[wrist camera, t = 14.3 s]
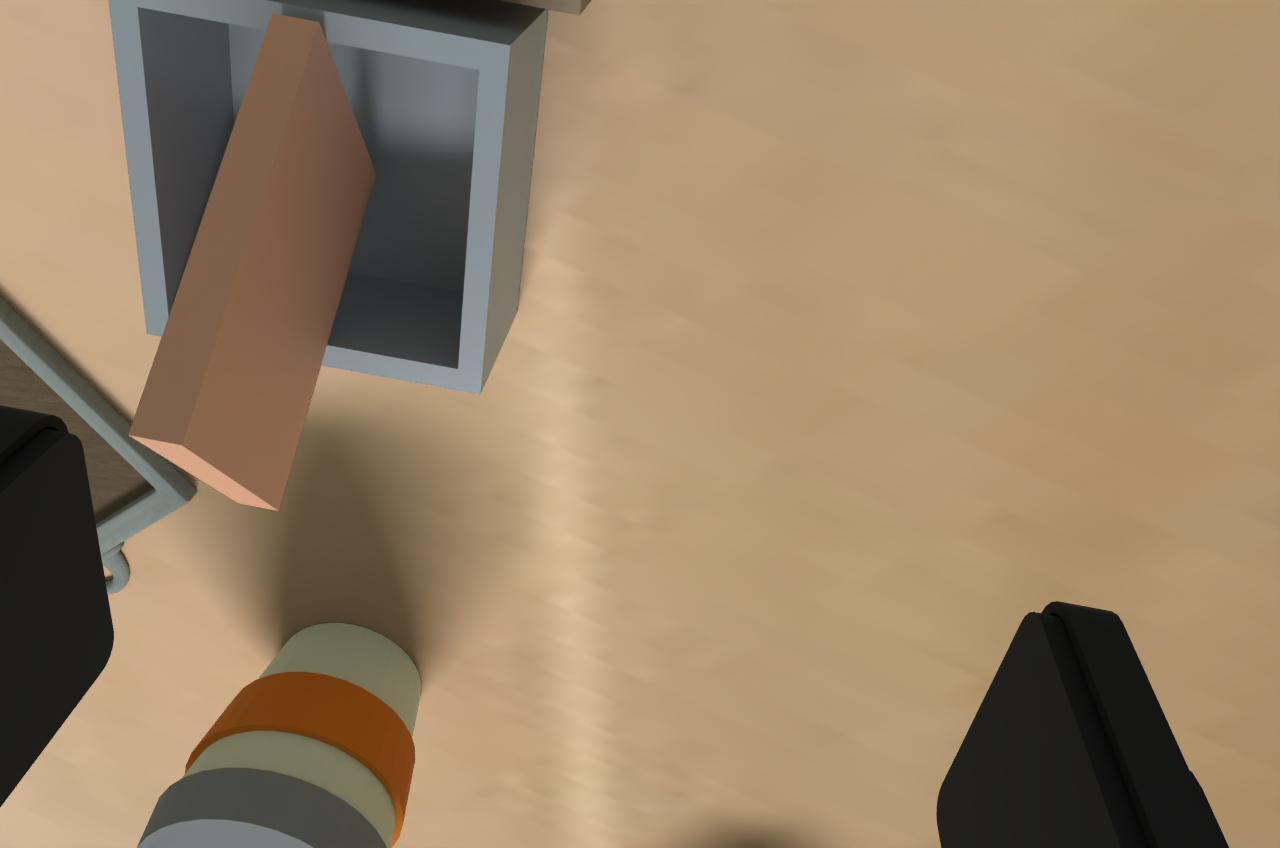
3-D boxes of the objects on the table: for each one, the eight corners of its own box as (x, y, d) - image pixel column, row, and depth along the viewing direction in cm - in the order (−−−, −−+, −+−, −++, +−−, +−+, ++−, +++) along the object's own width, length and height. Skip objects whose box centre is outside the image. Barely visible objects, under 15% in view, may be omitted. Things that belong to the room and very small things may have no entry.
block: (319, 22, 34) (182, 445, 30) (376, 174, 44) (278, 511, 39) (272, 13, 34) (128, 434, 30) (340, 167, 44) (238, 503, 39)
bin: (548, 6, 41) (510, 45, 34) (517, 312, 49) (480, 394, 42) (210, -57, 41) (105, -30, 34) (230, 259, 49) (146, 333, 42)
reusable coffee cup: (490, 706, 63) (426, 933, 50) (344, 768, 68) (250, 992, 55) (358, 569, 58) (250, 783, 45) (209, 646, 63) (72, 861, 50)
